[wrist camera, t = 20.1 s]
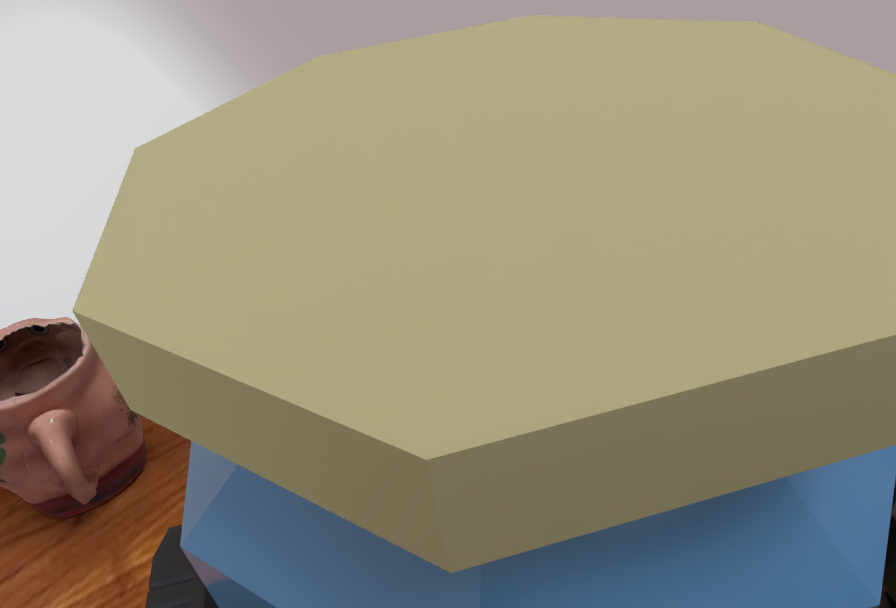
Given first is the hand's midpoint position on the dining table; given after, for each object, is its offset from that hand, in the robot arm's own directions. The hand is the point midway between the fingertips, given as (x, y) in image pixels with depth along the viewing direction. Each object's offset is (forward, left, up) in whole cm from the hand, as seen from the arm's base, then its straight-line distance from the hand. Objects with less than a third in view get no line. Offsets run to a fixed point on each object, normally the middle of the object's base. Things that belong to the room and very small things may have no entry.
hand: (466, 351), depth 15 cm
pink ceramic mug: (+22, -37, -33) cm, 54 cm away
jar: (+1, +5, -8) cm, 9 cm away
